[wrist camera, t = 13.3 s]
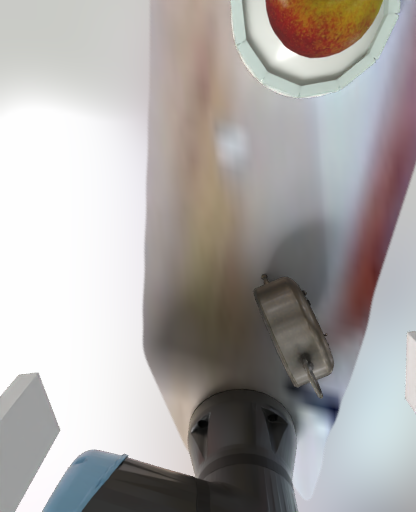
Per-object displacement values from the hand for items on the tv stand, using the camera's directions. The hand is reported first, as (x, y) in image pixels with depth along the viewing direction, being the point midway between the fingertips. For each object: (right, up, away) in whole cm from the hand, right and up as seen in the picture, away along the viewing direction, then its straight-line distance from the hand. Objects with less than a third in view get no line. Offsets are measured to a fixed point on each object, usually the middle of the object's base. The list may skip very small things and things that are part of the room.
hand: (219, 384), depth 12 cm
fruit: (+9, +28, +20) cm, 35 cm away
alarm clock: (+9, -1, +31) cm, 32 cm away
